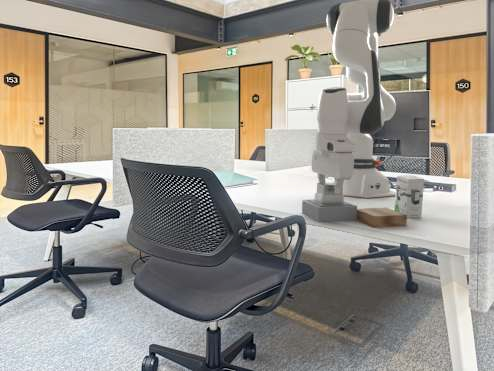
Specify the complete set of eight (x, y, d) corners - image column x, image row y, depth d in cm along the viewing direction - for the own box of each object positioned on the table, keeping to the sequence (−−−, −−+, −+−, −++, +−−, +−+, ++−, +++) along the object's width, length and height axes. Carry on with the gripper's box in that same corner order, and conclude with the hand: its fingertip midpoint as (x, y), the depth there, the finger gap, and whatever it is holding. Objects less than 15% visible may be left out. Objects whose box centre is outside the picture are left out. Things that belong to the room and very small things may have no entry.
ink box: (393, 211, 130) (396, 174, 128) (408, 211, 131) (411, 174, 129) (405, 218, 122) (408, 178, 120) (422, 218, 122) (425, 178, 120)
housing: (336, 200, 125) (336, 182, 125) (343, 203, 121) (344, 184, 120) (314, 201, 124) (315, 182, 123) (321, 204, 119) (322, 185, 118)
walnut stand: (385, 217, 122) (385, 207, 122) (406, 225, 112) (407, 214, 112) (354, 218, 119) (355, 208, 119) (373, 227, 110) (374, 216, 109)
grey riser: (337, 211, 130) (338, 197, 129) (356, 219, 119) (357, 205, 118) (301, 212, 127) (302, 199, 126) (318, 221, 116) (318, 206, 115)
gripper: (307, 142, 129) (305, 186, 131) (337, 146, 109) (335, 197, 111) (325, 142, 130) (324, 185, 132) (359, 146, 111) (356, 196, 113)
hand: (329, 191), depth 122 cm, fingers open, 8 cm apart
